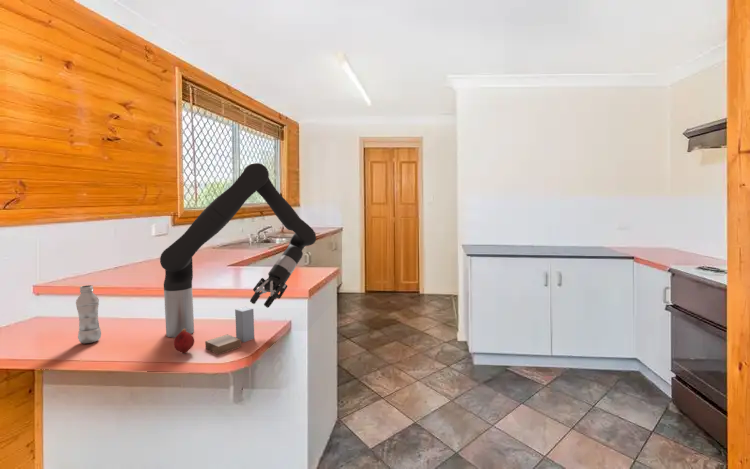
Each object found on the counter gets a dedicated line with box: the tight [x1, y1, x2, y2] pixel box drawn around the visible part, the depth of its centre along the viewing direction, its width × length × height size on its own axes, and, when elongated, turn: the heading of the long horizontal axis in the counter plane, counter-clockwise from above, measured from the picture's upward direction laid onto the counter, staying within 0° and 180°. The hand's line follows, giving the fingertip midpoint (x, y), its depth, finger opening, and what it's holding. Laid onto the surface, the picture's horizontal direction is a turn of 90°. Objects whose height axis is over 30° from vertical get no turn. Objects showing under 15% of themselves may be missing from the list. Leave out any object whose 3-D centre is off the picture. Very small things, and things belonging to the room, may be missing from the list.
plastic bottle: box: [75, 284, 102, 344], centre depth 126 cm, size 6×7×20 cm
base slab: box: [205, 334, 242, 355], centre depth 121 cm, size 8×8×3 cm
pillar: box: [234, 306, 255, 343], centre depth 128 cm, size 4×4×11 cm
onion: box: [173, 329, 195, 354], centre depth 116 cm, size 6×6×8 cm
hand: (258, 304), depth 133 cm, fingers open, 8 cm apart
